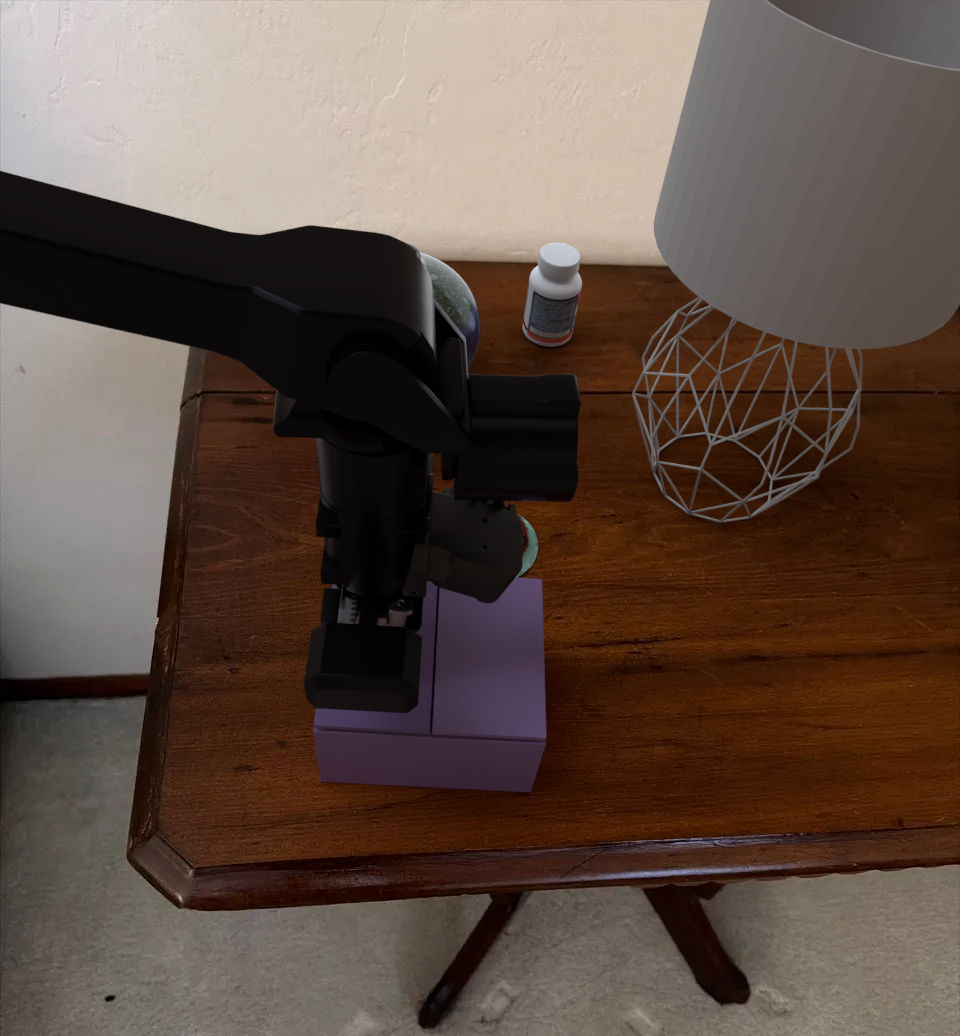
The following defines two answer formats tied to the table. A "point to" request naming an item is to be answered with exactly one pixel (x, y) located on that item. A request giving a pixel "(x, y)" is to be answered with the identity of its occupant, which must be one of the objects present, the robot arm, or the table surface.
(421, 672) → the flap
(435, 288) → the vase
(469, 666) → the file box
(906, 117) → the table lamp
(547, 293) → the pill bottle
